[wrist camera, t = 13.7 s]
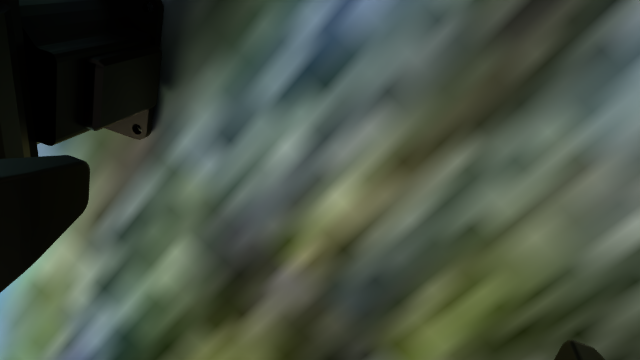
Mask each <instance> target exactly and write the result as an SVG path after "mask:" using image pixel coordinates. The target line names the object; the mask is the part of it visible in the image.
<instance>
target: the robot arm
mask: <svg viewBox="0 0 640 360" xmlns="http://www.w3.org/2000/svg"><path fill="white" fill-rule="evenodd" d="M149 2H150V3H151V4H152V6H153V12H152V13H151V12H150V11H149V10H148V3H149ZM163 11H164V10H163V4H162V1H161V0H0V292H2V291H3V290H4V289H5V288H6V287H7V286H9V285H10V284H11V283H12V282H13V281H15V280H16V279H17V278H18V277H19V276H20V275H22V274H23V273H24V272H25V271H26V270H27V269H28V268H29V267H31V266H32V265H33V264H34V263H35V262H36V261H37V260H38V259H39V258H40V257H41V256H42V255H43V254H44V253H45V251H46V250H47V249H48V248H49V247H50V246H51V245H52V244H53V243H54V242H55V241H56V240H57V239H58V238H59V237H60V236H61V235H62V234H63V233H64V232H65V231H66V230H67V229H68V228H69V227H70V226H71V225H72V223H73V222H74V221H75V220H76V219H77V218H78V217H79V216H80V215H81V214H82V213H83V212H84V210H85V209H86V207H87V204H88V200H89V181H90V168H89V165H88V164H87V162H85V161H83V160H80V159H78V158H75V157H72V156H69V155H61V156H43V157H38V150H37V144H39V143H43V144H46V145H49V146H53V145H55V144H57V143H60V142H62V141H65V140H67V139H70V138H72V137H75V136H77V135H80V134H82V133H84V132H87V131H89V130H94V131H98V130H100V129H102V128H106V129H109V130H111V131H114V132H117V133H120V134H123V135H126V136H129V137H131V138H134V139H139V140H140V139H143V138H145V137H147V136H149V135H150V133H151V130H152V120H153V110H154V106H155V105H156V104H157V95H158V85H159V75H160V66H161V56H162V52H161V50H160V41H161V31H162V21H163ZM137 124H138V125H140V127H141V128H142V132H141V131H139V129H138V128H137ZM554 360H605V359H604V358H603V357H602V356H601V355H600V354H599V353H598V352H597V350H595V349H594V348H592V347H590V346H587V345H585V344H582V343H579V342H576V341H574V340H568V341H566V342H565V343H564V344H563V345H562V347H561V348H560V350H559V352H558V354H557V355H556V357H555V359H554Z"/></svg>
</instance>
